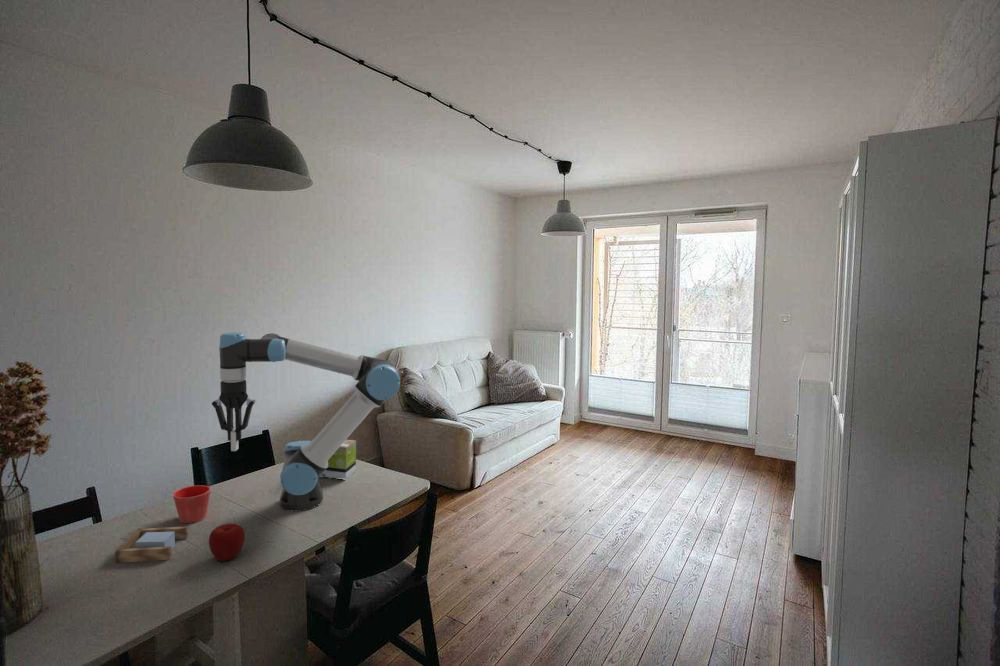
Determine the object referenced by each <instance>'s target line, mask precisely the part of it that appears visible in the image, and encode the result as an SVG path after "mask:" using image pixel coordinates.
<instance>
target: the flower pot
mask: <svg viewBox="0 0 1000 666" xmlns="http://www.w3.org/2000/svg"><path fill="white" fill-rule="evenodd" d="M211 490H212V489H211V487H210V486H208V485H204V484H203V485H201V484H200V485H199V484H198V485H192V486H191V485H190V486H186V487H182V488H179V489H178V490H176V491H175V492H174V493H173V494H172V495H173V496H172V497H173V500H174V504H175V508H176V513H177V515H178V518H179V521H180V523H182V524H192V523H197V522H199V521H201V520H204V519H205V518H206V517H207V513H208V507H209V501H210V497H211Z"/></svg>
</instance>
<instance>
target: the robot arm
mask: <svg viewBox="0 0 1000 666" xmlns="http://www.w3.org/2000/svg"><path fill="white" fill-rule="evenodd" d="M218 349H219V375H220V377H219V378H220V395H219V397H218V399H214V400H213V401H212V402H211V405H212V406H213V408H214V409H215V412H216V416H217V419H218V423H219V426H220V429H221V430H222V431H226V433H227V441H229V442H230V451H231V452H237V451H238V450H239V441H241V439H242V431H243V430H245V429H246V428H247V427H248V426H249V421H250V418H251V417H250V416H251V413H252V408H253V406H254V405H255V403H256V399H251V398H249V395H248V393H247V380H246V379H247V363H251V362H252V363H254V362H255V363H260V362H261V363H262V362H266V363H269V362H272V363H275V362H284V361H285V360H286V361H289V362H294V363H298V364H301V365H305V366H310V367H313V368H316V369H322V370H326V371H329V372H334V373H337V374H342V375H344V376H345V375H346V376H350V377H352V378H353V380H354V381H357V382H356V384H355V385H354V393H353V394H352V395H351V396H350V397H349V399H348V400H347V401H346V402H345V403H344V404H342V407H340V409H339V410H338V411H337V412H336V413H335V414H334V416H333V417H331V419H330V420H329V421H328V423H327V424H325V426H323V428H322V429H321V430H320V431H319V433H318V434H316V436H315V437H314V438H313V439H312V440H296V441H291V442H288V443H286V444H285V445H284V450H283V453H284V460H283V461H284V462H283V465H282V470H281V473H280V476H279V477H280V478H279V479H280V485H281V487H282V491H281V493H280V494H281V495H280V498H279V506H280V508H281V509H283V510H286V511H290V510H293V511H292V512H296V511H295V510H301V511H306V510H305V509H307V510H310V509H309V508H311V509H313V508H312V507H314V506H316V505H318V504H320V503H321V502H322V500H323V501H324V494H323V493H324V492H323V490H322V488H321V487H322V486H321V485H320V482H319V478H321V477H320V475H321V474H322V473H323V472H324V471H325V470H326V469H327V467H328V460H329V458H330V457H331V456H332V455H333V454H334V453H335V452H336V450H337V449H338V448H339V447H340V446H341V445H342V444H343V442H344V441H345V440H346V439H347V440H348V438H349V437H350V435H351V434H353V432H354V431H355V430H356V429H357V428H358V427H359V425H361V423H362V422H363V421H364V420H365V419H366V417H367V416H368V415H369V414H370V413H371V412H372V410H373V409H375V408H381V407H382V405H383V404H384V403H385V402H386V401H387V400H389V399H391V398H393V397H394V396H395V395H396V394H397V393H398V391H399V389H400V385H401V378H400V374H399V372H398V370H397V369H396V368H395V367H394V365H393V364H392V362H390V361H389V360H386V359H382V358H377V357H371V356H367V355H363V354H362V355H359V356H355V355H351V354H348V353H345V352H340V351H336V350H332V349H329V348H326V347H321V346H317V345H314V344H310V343H306V342H302V341H299V340H295V339H291V338H287V337H282V336H280V335H278V334H276V333H273V332H272V333H267V334H264V335H263V336H261V338H257V339H256V338H253V339H252V338H247V337H246V334H245V333H244V332H223V333H222V334H221V335H220V337H219V347H218ZM245 403H246V404H245ZM244 404H245V405H246V407H245V412H244V415H243V418H242V409H243V408H242V407H243V405H244ZM222 405H224V407H225V411H226V417H225V413H224V409H223V406H222ZM234 415H235V416H234ZM234 418H235V419H234ZM234 420H235V421H234ZM234 424H235V426H234ZM322 503H323V502H322ZM322 503H321V504H322ZM321 504H320V505H321ZM318 506H319V505H318ZM316 507H317V506H316ZM314 508H315V507H314Z"/></svg>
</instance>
